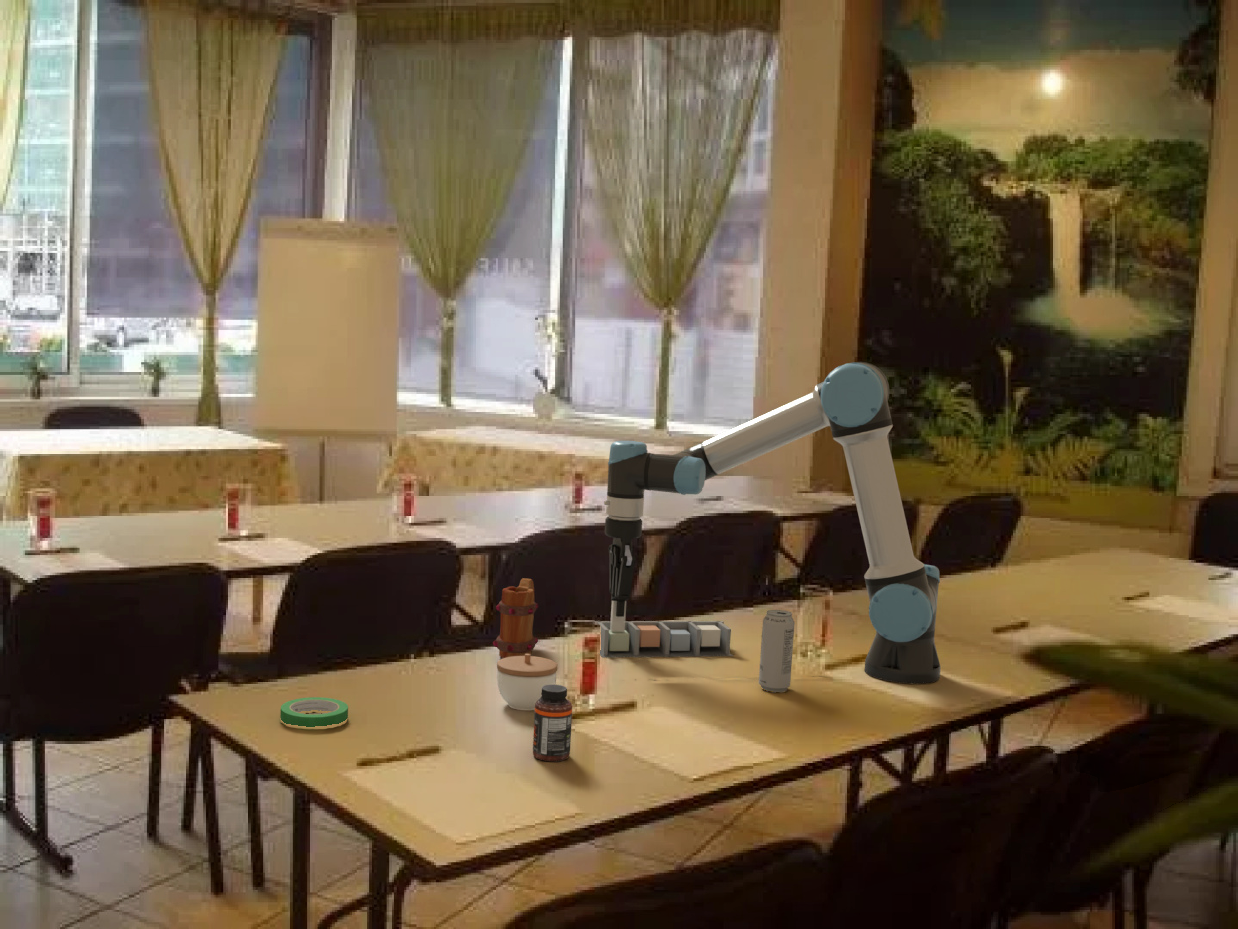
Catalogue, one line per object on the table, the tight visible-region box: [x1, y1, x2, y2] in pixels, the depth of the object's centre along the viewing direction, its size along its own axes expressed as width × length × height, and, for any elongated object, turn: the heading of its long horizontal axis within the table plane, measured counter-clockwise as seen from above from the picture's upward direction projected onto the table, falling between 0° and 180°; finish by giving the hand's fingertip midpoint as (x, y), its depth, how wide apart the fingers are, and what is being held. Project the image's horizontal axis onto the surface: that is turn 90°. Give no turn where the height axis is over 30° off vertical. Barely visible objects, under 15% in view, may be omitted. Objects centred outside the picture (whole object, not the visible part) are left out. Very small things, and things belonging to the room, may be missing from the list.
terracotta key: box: [637, 625, 660, 647], centre depth 294 cm, size 4×4×4 cm
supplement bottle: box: [532, 684, 573, 762], centre depth 226 cm, size 6×6×11 cm
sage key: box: [608, 630, 630, 651], centre depth 292 cm, size 4×4×4 cm
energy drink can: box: [758, 609, 795, 693], centre depth 273 cm, size 6×6×15 cm
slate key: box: [669, 629, 691, 651], centre depth 296 cm, size 4×4×4 cm
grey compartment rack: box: [593, 620, 735, 658], centre depth 295 cm, size 10×28×6 cm, turn 104°
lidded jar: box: [496, 653, 558, 712], centre depth 253 cm, size 11×11×9 cm
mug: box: [492, 577, 539, 659], centre depth 288 cm, size 15×8×15 cm, turn 168°
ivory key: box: [697, 625, 721, 646], centre depth 297 cm, size 4×4×4 cm
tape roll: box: [279, 696, 349, 727], centre depth 239 cm, size 11×11×3 cm
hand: (617, 630), depth 292 cm, fingers closed
